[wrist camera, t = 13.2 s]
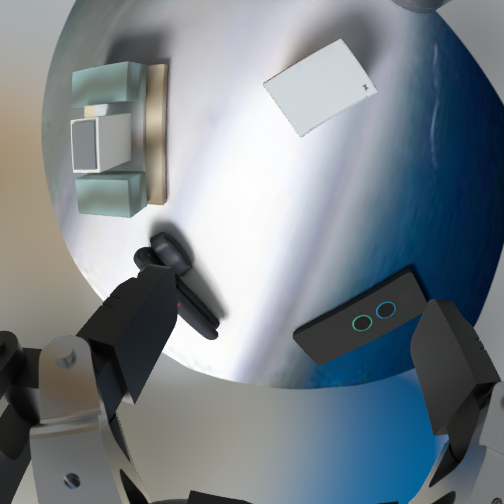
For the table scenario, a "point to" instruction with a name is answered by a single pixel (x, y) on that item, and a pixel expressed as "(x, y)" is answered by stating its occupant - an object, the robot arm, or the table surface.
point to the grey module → (100, 142)
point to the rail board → (142, 136)
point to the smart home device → (362, 318)
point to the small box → (320, 86)
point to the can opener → (178, 282)
